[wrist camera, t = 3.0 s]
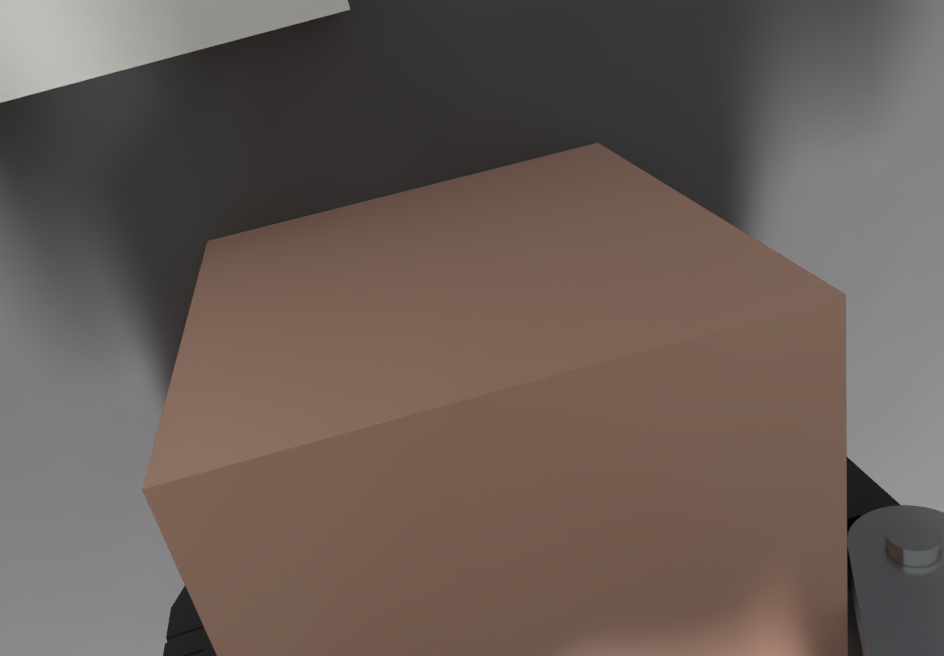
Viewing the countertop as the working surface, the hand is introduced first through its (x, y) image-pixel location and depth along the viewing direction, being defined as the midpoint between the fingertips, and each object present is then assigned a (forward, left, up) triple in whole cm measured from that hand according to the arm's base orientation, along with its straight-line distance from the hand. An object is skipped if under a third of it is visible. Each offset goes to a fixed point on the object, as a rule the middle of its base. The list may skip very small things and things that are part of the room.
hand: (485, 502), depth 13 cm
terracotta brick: (0, 0, -1) cm, 1 cm away
